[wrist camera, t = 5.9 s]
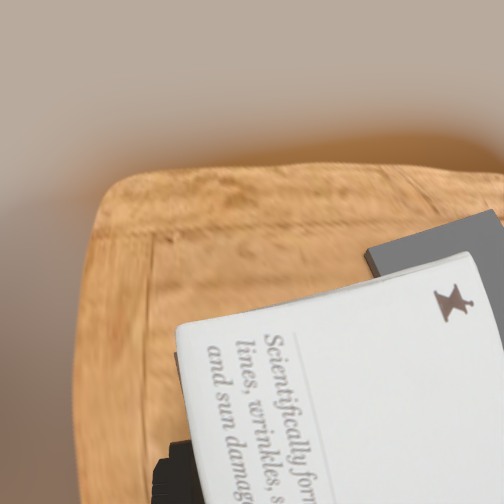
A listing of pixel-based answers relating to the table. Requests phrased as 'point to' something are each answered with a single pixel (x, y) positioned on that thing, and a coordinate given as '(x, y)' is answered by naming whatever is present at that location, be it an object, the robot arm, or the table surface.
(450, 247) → the charcoal mat
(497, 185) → the table surface
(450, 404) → the skincare box
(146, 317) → the table surface
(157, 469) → the robot arm
